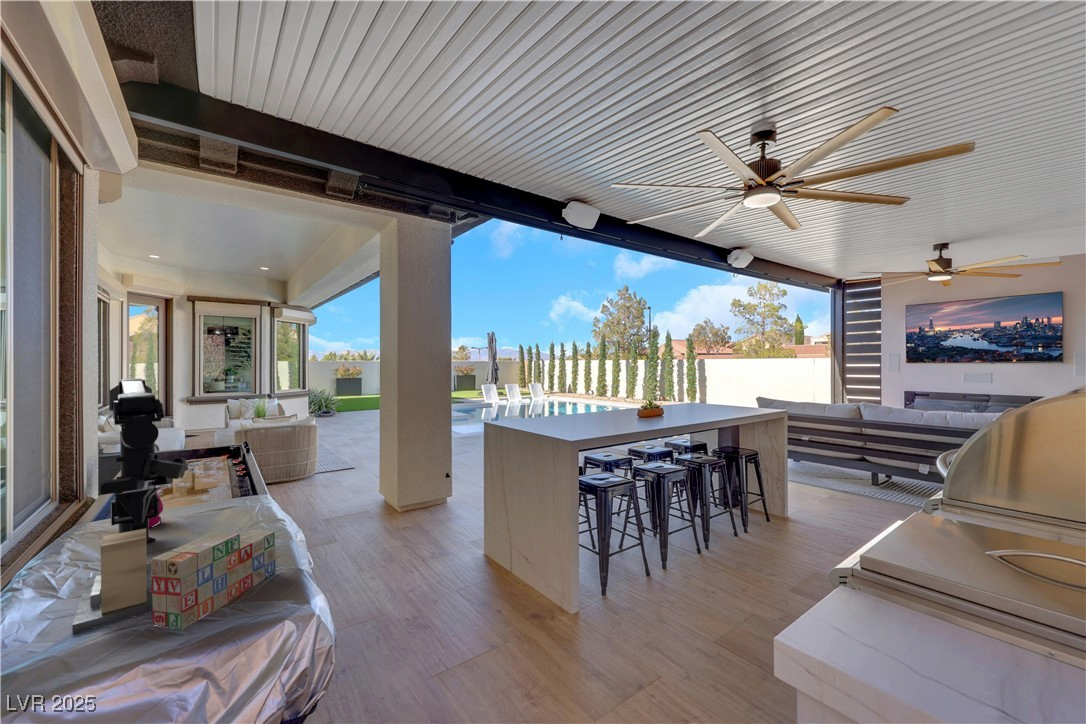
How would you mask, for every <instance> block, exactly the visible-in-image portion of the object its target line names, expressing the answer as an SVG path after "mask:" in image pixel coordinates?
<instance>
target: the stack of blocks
mask: <svg viewBox="0 0 1086 724" xmlns="http://www.w3.org/2000/svg"><path fill="white" fill-rule="evenodd" d="M275 534H276V533H275V531H269V530H255V529H253V530H252V529H250V530H248V531H245V532H243V533H242V534H241V533H236V532H235V533H233V532H218V531H213V532H211V533H207V534H205V535H203V536H200V537H199V538H196V539H194V540H192V541H189V542H187V543H186V544H183V545H181V546H179V547H176V548H173V549H171V550H169V551H166V552H164V553H162V554H159V555H156V556H154V557H152V558H151V564H152V576H151V586H152V587H151V589H152V606H153V610H152V611H153V612H151V614H152V626H153V625H158V626H161V627H168V628H174V629H173V630H175V629H180V630H179V631H183V630H185V629H186V628H188V627H190V626H191V625H193V624H194V623H193V622H195V621H196V620H198V619H199V618H201V617H202V616H204V615H206V614H207V613H210V612H212V611H213V610H215V611H217V610H219V609H220V608H221V607H224V606H225V605H226V604H228V603H229V602H230V601H233V600H234V599H235V598H237V597H239V596H240V595H242V594H243V593H246V592H248V590H250V589H252V588H253V587H256V585H258V584H260V583H262V582H263V581H265V580H266V579H265V578H267V577H268V576H270V575H271V574H273V573H274V572H275V573H276V545H275V544H276V543H275V542H276V540H275V539H276V538H275V537H276V535H275ZM273 575H274V574H273ZM270 577H271V576H270ZM268 578H269V577H268ZM268 578H267V579H268ZM264 579H265V580H264ZM262 580H263V581H262ZM261 581H262V582H261ZM259 582H260V583H259ZM216 609H217V610H216ZM213 612H214V611H213ZM213 612H212V613H213ZM210 614H211V613H210ZM198 621H199V620H198ZM196 622H197V621H196ZM196 622H195V623H196ZM192 623H193V624H192ZM190 624H191V625H190ZM189 625H190V626H189ZM187 626H188V627H187ZM185 627H186V628H185ZM168 628H167V629H168ZM184 628H185V629H184Z"/></svg>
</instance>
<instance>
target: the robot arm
mask: <svg viewBox="0 0 1086 724" xmlns="http://www.w3.org/2000/svg"><path fill="white" fill-rule="evenodd" d="M108 392H109V393H108V395H109V396H108V409H109V410H108V411H109V412H111V411H112V419H113V423H114V426H120V431H119V436H120V437H119V439H120V440H119V441H120V443H119V444H120V446H119V447H120V457H115V461H116V463H120V476H116V478H113V479H105V480H103V481H102V482H101V483H100V484H99V485H98V496H103V495H104V496H105V495H109V494H111V495H112V494H114V495H113V496H114V499H113V500H110V525H111V526H115V525H117V526H118V533H124V532H129V531H135V530H140V529H145V528H146V545H147V544H150V543H153V542H156V540H157V539H156V538H154V537H151V536H150V528H149V518H155V517H156V516H157V515H159V498H160V497H159V498H158V497H157V496H156V492H157V493H158V491H160V490H162V486H163V485H164V486H165V485H171V484H173V480H178V479H183V478H184V476H185V473H186V471H189V467H188V466H189V463H187V462H186V458H184V457H183V458H182V457H174V459H173V460H165V459H162V458H161V454H159V453H158V452H157V453H156V447H155V446H156V445H155V443H156V441H157V439H158V437H159V429H158V427H157V426H156V424H155V423H160V422H162V419H164V418H165V411H164V406H163V403H162V402H161V400H160V399H159V398H156V394H154V393H153V389H152V387H150V386H148V385H147V384H146V379H142V378H122V379H120V380H118V384H117V385H116V386H114V387H113V388H111V389H109V391H108ZM154 486H156V488H154ZM157 486H159V487H157ZM150 510H152V511H150ZM159 516H160V515H159Z"/></svg>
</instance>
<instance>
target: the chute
mask: <svg viewBox="0 0 1086 724" xmlns="http://www.w3.org/2000/svg"><path fill="white" fill-rule="evenodd" d="M151 576H152V563H148V564H147V600H146V602H144V603H141V604H137V605H133V606H129V607H125V608H122V609H118V610H114V611H110V612H106V613H103V614H101V574H99V575H93V576H89V577H87V579H86V582H85V585H84V588H83V591H82V595H81V597H80V600H79V604H78V607H77V608H76V609H77V610H76V612H75V616H74V619H73V622H72V624H71V625H72V627H71V628H72V635H73V634H77V633H81V632H84V630H85V631H88V630H91V628H92V629H94V627H96V628H99V627H102V626H106V625H110V624H114V623H117V621H118V622H121V621H124V620H128V619H132V618H135V617H134V616H136V617H140V616H143V615H146V614H145V613H147V614H150V613H152V612H153V611H152V610H153V606H152V589H151V587H152V586H151ZM149 612H150V613H149ZM142 614H143V615H142ZM131 617H132V618H131ZM87 629H88V630H87ZM80 631H81V632H80Z"/></svg>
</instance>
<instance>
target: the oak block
mask: <svg viewBox="0 0 1086 724" xmlns="http://www.w3.org/2000/svg"><path fill="white" fill-rule="evenodd" d="M147 550H148V549H147V544H146V528H145V529H140V530H135V531H129V532H124V533H119V532H118V533H114V534H108V535H104V536H103V537H102V540H101V543H100V575H101V614H103V613H106V612H110V611H114V610H118V609H122V608H125V607H129V606H133V605H137V604H141V603H144V602H146V600H147V563H148V562H147V559H148V558H147V557H148V555H147Z"/></svg>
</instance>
